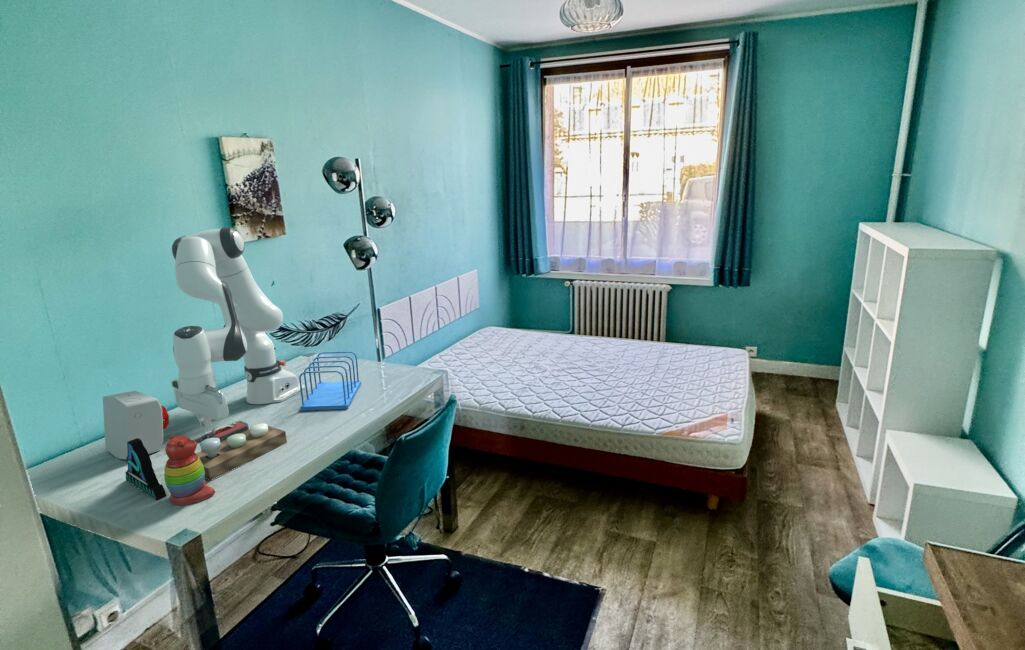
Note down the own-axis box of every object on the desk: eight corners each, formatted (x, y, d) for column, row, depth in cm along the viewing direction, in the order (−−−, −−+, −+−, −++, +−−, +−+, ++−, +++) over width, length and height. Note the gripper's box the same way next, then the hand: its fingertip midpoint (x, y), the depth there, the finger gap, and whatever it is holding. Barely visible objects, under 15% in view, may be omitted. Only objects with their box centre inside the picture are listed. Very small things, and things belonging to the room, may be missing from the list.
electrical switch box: (179, 449, 177) (177, 391, 174) (129, 464, 164) (125, 401, 162) (155, 439, 184) (153, 383, 182) (105, 452, 172) (102, 392, 169)
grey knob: (215, 451, 164) (213, 436, 163) (226, 455, 161) (223, 439, 160) (199, 459, 160) (196, 443, 158) (209, 463, 157) (206, 447, 156)
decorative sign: (126, 480, 156) (114, 434, 152) (135, 476, 158) (124, 430, 154) (157, 501, 146) (145, 451, 141) (166, 496, 147) (155, 447, 143)
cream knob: (263, 436, 178) (260, 422, 177) (273, 439, 175) (271, 425, 174) (249, 443, 174) (246, 428, 172) (259, 446, 171) (256, 432, 170)
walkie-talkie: (239, 425, 190) (180, 449, 174) (237, 413, 189) (177, 436, 173) (253, 431, 185) (194, 456, 169) (251, 419, 184) (192, 443, 168)
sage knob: (241, 446, 171) (238, 432, 170) (251, 450, 169) (248, 435, 167) (225, 454, 167) (223, 439, 166) (236, 458, 164) (233, 442, 163)
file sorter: (347, 409, 200) (343, 371, 196) (300, 412, 199) (295, 373, 195) (361, 384, 224) (357, 349, 220) (319, 386, 223) (314, 351, 219)
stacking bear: (217, 494, 148) (206, 436, 143) (177, 511, 141) (163, 450, 136) (203, 480, 155) (192, 424, 150) (163, 496, 148) (150, 437, 143)
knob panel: (263, 434, 182) (261, 423, 181) (286, 442, 176) (285, 431, 175) (186, 470, 160) (184, 458, 159) (210, 480, 154) (208, 468, 153)
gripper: (230, 385, 152) (238, 429, 155) (188, 373, 161) (196, 415, 165) (208, 393, 146) (217, 439, 150) (167, 380, 156) (176, 423, 160)
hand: (206, 426), depth 158 cm, fingers closed
